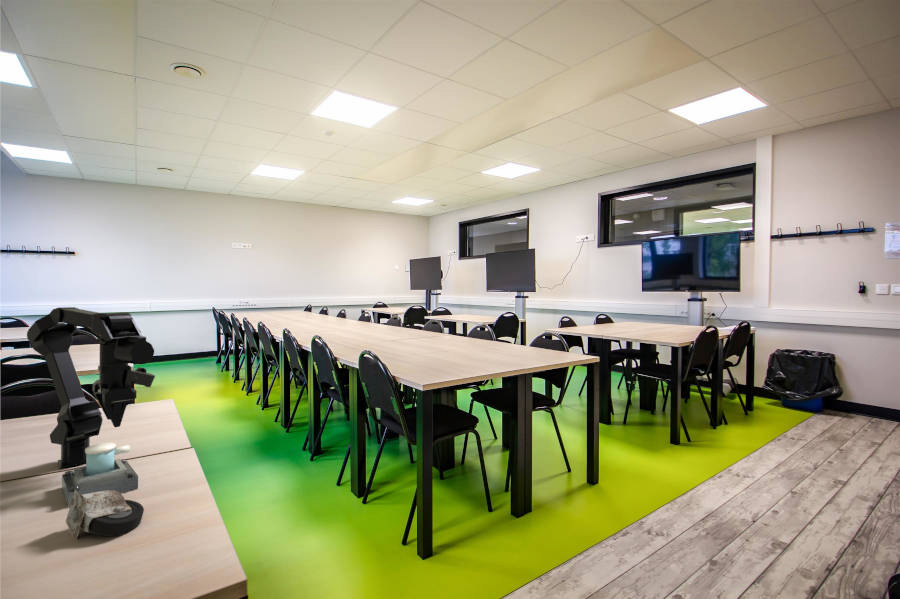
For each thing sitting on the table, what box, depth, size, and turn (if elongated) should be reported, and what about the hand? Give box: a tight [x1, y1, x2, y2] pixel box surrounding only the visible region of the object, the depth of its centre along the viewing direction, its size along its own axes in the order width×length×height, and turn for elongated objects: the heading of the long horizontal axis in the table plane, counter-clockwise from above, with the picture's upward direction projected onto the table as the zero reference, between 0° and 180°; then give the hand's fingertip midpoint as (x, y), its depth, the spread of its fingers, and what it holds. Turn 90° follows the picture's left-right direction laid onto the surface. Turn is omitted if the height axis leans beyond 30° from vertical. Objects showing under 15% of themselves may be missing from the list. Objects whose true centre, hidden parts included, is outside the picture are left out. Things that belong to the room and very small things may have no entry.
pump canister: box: [85, 442, 131, 477], centre depth 99 cm, size 5×8×7 cm
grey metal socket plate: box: [61, 458, 139, 508], centre depth 98 cm, size 13×12×4 cm
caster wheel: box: [65, 489, 145, 541], centre depth 82 cm, size 7×11×10 cm
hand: (113, 423), depth 108 cm, fingers open, 9 cm apart
